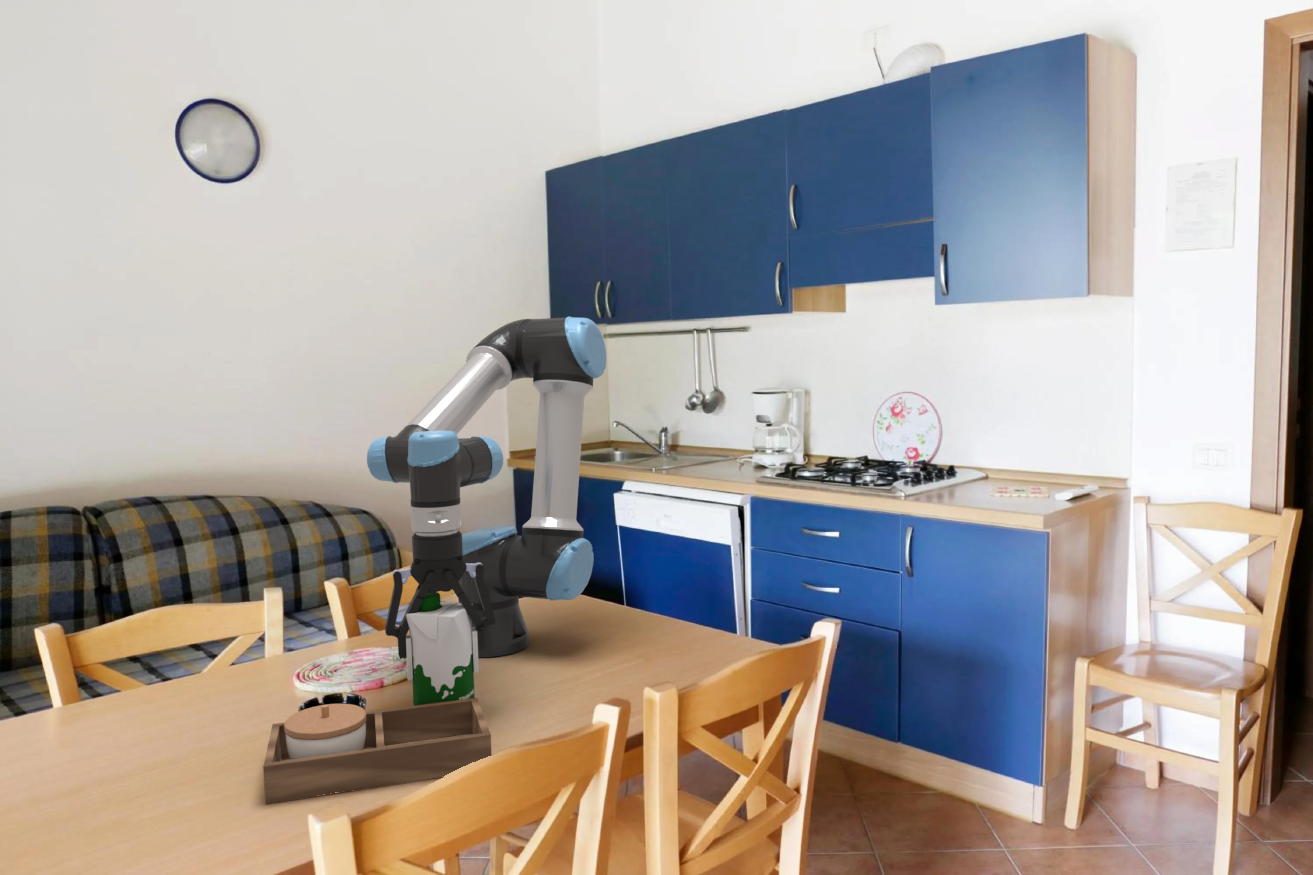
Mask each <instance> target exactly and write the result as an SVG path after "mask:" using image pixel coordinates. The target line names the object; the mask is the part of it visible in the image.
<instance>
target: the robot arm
mask: <svg viewBox="0 0 1313 875" xmlns="http://www.w3.org/2000/svg"><path fill="white" fill-rule="evenodd" d="M465 361H466V362H465V364H464V365H463V366H461V368H460V369H459V370H458V371H457V372H456V373H455V374H454V375H453V376H452V377H451V378H450V380H448V382H446V383H445V384H444V386H443V387H442V388H440V390H439V391H438V392H436V394H435V395H434V396H433V397H432V398H431V399H430V400H429V401H428V402H427V403H426V404H425V406H423V408H421V409H420V410H419V411H418V413H417V414H416V415H415V416H414V417H413V418H411V420H410V421H409V422H408V423H407V424H406V425H405V426H404V427H403V429H402V430H400V432H398V433H397V434H396V435H395V436H391V435H388V436H385V437H384V436H383V437H378V438H376V439H374V440H373V441H372V442H371V443H370V445H369V447H368V450H367V454H366V463H367V468H368V469H369V470H368V471H369V473H370V474H371V475H372V477H373V478H374V479H376V480H378V481H382V482H392V483H394V484H398V483H404V484H405V483H406V484H407V483H409V488H410V489H409V490H410V522H411V523H410V525H411V531H413V532H414V534H412V536H411V546H412V563H411V565H410V568H404V569H399V568H395V569H393V570H392V579H393V588H392V592H391V597H390V603H389V607H388V611H387V617H386V621H385V627H384V630H385V631H384V632H385V635H386V636H387V637H390V636H392V637H395V638H396V639H397V651H398V657H399V659H401V660H402V659H405V661H406V677H407V681H408V682H410V681H412V680H413V669H412V647H411V637H410V633H408V632H409V626H408V622H407V618H406V614H407V613H408V614H410V613H417V612H418V610H419V608H420V606H421V603H422V601H423V600H424V598H425V596H426V594H427V592H429V593H436V592H437V593H439V592H445V593H447V592H451V591H452V592H454V594H455V596H456V597H457V598H458V601H457V602H458V603H462V605H463V607H464V608H465V610H466V612H467V613H468V615H469V616H470V618H471V620H472V646H473V671H474V674H475V673H479V672H480V669H479V658H492V657H500V656H506V655H512V654H515V653H518V652H520V651H522V650H525V649H526V648H527V647H528V646H529V645H530V632H529V631H530V630H529V628H528V626H527V622H526V621H525V618H524V615H523V613H522V610H521V607H520V601H519V600H520V598H531V599H540V600H541V599H543V600H549V601H570V600H575V599H576V598H577V597H579V596H580V595H581V594H582V593H583V592H584V590H585V588H586V587H587V585H588V584H589V582H590V578H591V576H592V573H593V567H594V558H595V557H594V552H593V546H592V544H591V542H590V541H589V540H588V539H586V538H584V528H583V527H582V526H581V524H580V523H579V522H578V520H577V514H578V512H577V511H578V498H579V497H578V496H579V483H580V482H579V480H580V470H581V468H580V467H581V466H580V465H581V454H582V439H583V438H582V436H583V435H582V434H583V421H584V409H585V408H584V405H585V397H586V396H587V395H588V394H589V393H590V392H591V391H592V390H593V387H594V379H598V378H600V377H601V376H603V374H604V372H605V369H606V366H607V349H606V344H605V341H604V337H603V335H602V332H601V330H600V328H599V327H598V325H597V324H596V323H595V322H594V321H593V320H592V319H590V318H587V317H575V316H574V317H573V316H567V317H553V318H552V317H550V318H549V317H548V318H523V319H519V320H514V321H512V322H508V323H506V324H504V325H503V326H501V327H499V328H497V329H496V330H494V331H492V332H490V333H489V334H488V335H487V336H485V337H484V338H483V339H482V340H480V341H479V342H478V343H477V344H476V345H475V346H474V347H473V348H472V349H471V350H470V351H469V352H468V354H467V356H466V360H465ZM519 379H532V380H533V381H532V385H533V388H535V389H536V390H537V391H538V393H539V402H538V403H539V405H538V414H537V415H538V416H537V432H536V444H535V448H536V449H535V456H534V457H535V459H534V473H533V474H534V475H533V483H532V484H533V487H532V499H531V500H532V501H531V513H530V515H531V516H530V518H529V520H527V521H526V522H525V523H524V524H523V525H522V527H521V535H519V534H518V531H517V528H516V527H515V526H512V525H501V526H493V527H487V528H486V527H485V528H480V529H476V530H471V531H468V532H466V533H462V532H461V531H460V529H461V527H462V511H461V508H462V507H461V506H462V505H461V488H465V487H468V486H473V485H476V484H484V483H486V482H488V481H490V480H493V479H494V478H496V477H497V476H498V475H499V474H500V472H501V471H502V468H503V466H504V455H503V451H502V449H501V446H500V444H498V442H496V441H495V440H494V439H492V438H491V437H488V436H471V437H466V438H464V437H463V438H459V437H458V434H459V433H460V432H461V431H462V429H464V427H465V426H466V425H467V424H468V422H470V421H471V419H472V418H473V417H474V416H475V415H476V414H477V412H478V411H479V410H480V409H481V408H482V406H484V405H485V403H486V402H487V401H488V400H489V399H490V398H491V397H492V395H493V394H495V392H496V391H498V390H502V389H504V388H506V387H507V386H508V385H509V384H510V383H511V382H512V381H515V380H519ZM517 534H518V535H517ZM411 576H412V578H413V579H414V580H415V581H416V583H417V584H418V585H417V586H416V589H415V592H414V594H413V597H412V599H411V600H410V603H409V605H408V607H407V609H406V611H405V613H404V615H403V617H402V619H401V621H400V623H399V625H398V626H396V623H397V619H398V613H399V608H400V604H401V599H402V594H403V590H404V586H403V585H405V584H407V583H408V580H409V579H408V578H410V577H411ZM519 597H520V598H519ZM472 604H473V605H472Z"/></svg>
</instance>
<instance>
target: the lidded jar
mask: <svg viewBox="0 0 1313 875" xmlns="http://www.w3.org/2000/svg"><path fill="white" fill-rule="evenodd" d="M366 712H367V711H366V710H365V709H364V707H361V706H359V705H356V704H351V703H329V704H327V703H326V704H321V705H317V706H312V707H309V708H305V709H302V710H300V711H298V712H295V713H293V714H291V715H290V716H288V717H287V718H286V720H284V721H285V722H283V723H284V731H285V735H286V745H287V750H288V754H289V757H290V758H289V760H293V759H301V758H308V757H315V756H322V755H329V754H336V753H344V752H351V751H358V750H365V748H364V745H365V740H366Z"/></svg>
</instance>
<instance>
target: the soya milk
mask: <svg viewBox="0 0 1313 875" xmlns="http://www.w3.org/2000/svg"><path fill="white" fill-rule="evenodd" d="M472 605H473V604H472ZM406 618H407V622H408V626H409V631H408V632H409V633H408V634H410V637H411V647H412V669H413V680H411V681H412V702H413V705H412V706H417V705H425V704H432V703H440V702H448V701H456V700H464V699H471V698H475V675H474V674H475V673H474V671H473V646H472V620H471V618H470V616H469V615H468V613H467V612H466V610H465V608H464V607H463V605H462V603H459V602H458V601H441V594H440V593H439V592H436V593H429V592H427V594H426V596H425V598H424V600H423V601H422V603H421V606H420V608H419V610H418V612H417V613H410V614H408V613H407V614H406Z"/></svg>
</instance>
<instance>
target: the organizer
mask: <svg viewBox="0 0 1313 875" xmlns="http://www.w3.org/2000/svg"><path fill="white" fill-rule="evenodd" d="M284 723H285V722H278V723H272V726H271V730H270V735H269V739H268V743H267V747H266V752H265V756H264V762H263V766H262V767H263V783H264V799H265V800H264V801H265V805H270V804H276V803H283V802H289V801H296V800H295V799H297V800H302V799H301V798H304V799H307V798H306V797H310V798H315V797H314V796H317V795H323V794H330V793H335V792H343V791H350V792H353V791H352V790H356V791H362V789H363V790H368V789H367V788H370V789H374V788H375V787H376V788H381V787H388V786H395V784H396V785H402V784H401V783H403V784H407V783H408V784H409V783H414V782H415V783H417V782H422V781H427V780H428V779H429V780H434V779H433V778H436V779H440V777H442V776H445V775H447V774H449V773H451V772H453V771H455V770H457V769H459V768H461V767H463V766H466V765H468V764H470V763H472V762H476V761H478V760H480V759H483V758H486V757H488V756H492V735H491V732H490V730H489V726H488V724H487V721H486V718H485V716H484V712H483V710H482V707H481V705H480V702H479V698H478V697H474V698H471V699H464V700H456V701H448V702H440V703H432V704H425V705H417V706H413V705H412V706H404V707H403V706H402V707H396V708H387V709H379V710H371V711H370V710H369V711H366V740H365V745H364V749H363V750H358V751H351V752H344V753H336V754H329V755H322V756H315V757H308V758H301V759H293V760H290V757H289V754H288V750H287V745H286V735H285V731H284ZM452 736H453V737H452ZM410 742H411V743H410ZM388 745H389V746H388ZM442 778H443V777H442ZM376 788H375V789H376ZM343 793H344V792H343ZM330 795H331V794H330ZM323 796H324V795H323ZM317 797H318V796H317Z"/></svg>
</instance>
